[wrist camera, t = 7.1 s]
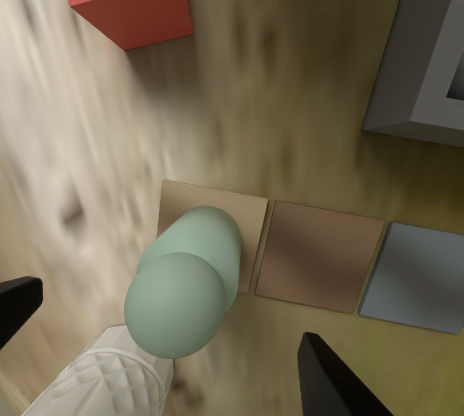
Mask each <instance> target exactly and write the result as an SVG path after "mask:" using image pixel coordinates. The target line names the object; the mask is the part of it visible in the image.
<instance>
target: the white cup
mask: <svg viewBox="0 0 464 416" xmlns="http://www.w3.org/2000/svg"><path fill="white" fill-rule="evenodd" d="M173 375H174V366H173V359H164V358H159V357H155V356H153V355H150V354H148V353H147V352H145V351H144V350H143V349H141V348H140V347H139V346H138V345H137V344H136V343H135V342H134V340H133V339H132V337H131V335H130V333H129V331H128V329H127V326H126V325H121V326H114V327H109V328H107V329H106V330H104V331H103V332H102V333H100V334H99V335H97V336H96V337H95V338H94V339H93V340H92V341H91V342H90V343H89V344H88V345H87V346H86V348H85V349H84V350H83V351H82V352H81V353H80V354H79V355H78V357H77V358H76V359H75V360H74V361H72V362H71V363H70V364H69V365H68V366H67V367H66V368H65V369H64V370H63V371H62V372H61V373H60V374H59V375H58V376H57V377H56V378H55V379H54V381H53V382H52V383H51V384H50V385H49V386H48V387H47V388H46V389H45V390H44V391H43V392H42V393H41V394H40V395H39V396H38V397H37V398H36V399H35V400H34V401H33V402H32V403H31V404H30V406H29V407H28V408H27V409H26V410H25V411H24V412H23V413H22V414H21V415H20V416H163V411H164V405H165V402H166V399H167V396H168V392H169V389H170V385H171V382H172V379H173Z"/></svg>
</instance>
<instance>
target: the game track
mask: <svg viewBox="0 0 464 416" xmlns="http://www.w3.org/2000/svg"><path fill="white" fill-rule="evenodd" d="M267 202H268V199H267V198H262V197H256V196H251V195H246V194H240V193H235V192H229V191H224V190H219V189H213V188H208V187H202V186H197V185H191V184H186V183H181V182H175V181H170V180H163V181H162V191H161V201H160V211H159V221H158V231H157V239H158V238H159V237H160V236H161V235H162V234H163V233H164V232H165V231H166V230H167V229H168V228H169V227H170V226H171V225H172V224H173V223H174V222H176V221H177V220H178V219H179V218H180V217H181V216H182V215H183V214H184V213H185V212H187V211H188V210H190V209H192V208H195V207H198V206H213V207H217V208H219V209H222V210H224V211H225V212H227V213H228V214H229V215H231V216H232V217H233V219H234V220H235V221H236V223H237V224H238V226H239V228H240V232H241V237H242V243H241V255H240V267H239V280H238V290H237V291H240V292H245V293H248V290H249V285H250V280H251V276H252V271H253V267H254V262H255V257H256V253H257V248H258V244H259V239H260V235H261V230H262V225H263V221H264V216H265V212H266V207H267ZM384 222H385V221H384V220H381V219H376V218H370V217H365V216H359V215H354V214H348V213H343V212H338V211H332V210H327V209H321V208H316V207H311V206H305V205H300V204H294V203H289V202H284V201H278V200H276V201H275V206H274V210H273V215H272V219H271V223H270V228H269V232H268V237H267V241H266V245H265V250H264V254H263V259H262V263H261V268H260V272H259V276H258V281H257V285H256V290H255V295H260V296H265V297H270V298H275V299H280V300H285V301H290V302H296V303H301V304H306V305H311V306H316V307H321V308H326V309H331V310H336V311H341V312H346V313H351V314H352V312H353V309H354V307H355V304H356V301H357V298H358V295H359V293H360V290H361V287H362V284H363V281H364V279H365V276H366V273H367V270H368V267H369V264H370V262H371V259H372V256H373V253H374V250H375V248H376V245H377V242H378V239H379V236H380V234H381V231H382V228H383V225H384ZM358 314H359V315H362V316H367V317H372V318H377V319H382V320H387V321H392V322H397V323H402V324H407V325H412V326H418V327H423V328H428V329H433V330H438V331H443V332H448V333H453V334H458V335H459V334H460V332H461V330H462V328H463V326H464V235H462V234H457V233H451V232H446V231H441V230H435V229H430V228H424V227H419V226H413V225H408V224H403V223H397V222H392V221H390V224H389V226H388V229H387V232H386V235H385V237H384V240H383V243H382V246H381V248H380V251H379V254H378V257H377V260H376V262H375V265H374V268H373V271H372V273H371V276H370V279H369V282H368V284H367V287H366V290H365V293H364V295H363V298H362V301H361V304H360V306H359V309H358Z"/></svg>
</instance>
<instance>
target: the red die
mask: <svg viewBox="0 0 464 416" xmlns="http://www.w3.org/2000/svg"><path fill="white" fill-rule="evenodd" d="M68 2H69V6H70V7H71V8H72V9H73V10H75V11H76V12H77V13H78V14H80V15H81V16H82V17H83V18H85V19H86V20H87V21H88V22H90V23H91V24H92V25H93V26H94V27H96V28H97V29H98V30H99V31H101V32H102V33H103V34H104V35H106V36H107V37H108V38H109V39H110V40H112V41H113V42H114V43H115V44H117V45H118V46H119V47H120V48H122V49H123V50H124V51H125V50H129V49H133V48H137V47H141V46H146V45H150V44H154V43H158V42H162V41H166V40H170V39H174V38H178V37H182V36H186V35H190V34H194V30H193V25H192V20H191V14H190V9H189V4H188V0H68Z"/></svg>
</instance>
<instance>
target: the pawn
mask: <svg viewBox="0 0 464 416" xmlns="http://www.w3.org/2000/svg"><path fill="white" fill-rule="evenodd" d="M241 243H242V237H241V232H240V228H239V226H238V224H237V223H236V221H235V220H234V219H233V217H232V216H231V215H229V214H228V213H227V212H225V211H224V210H222V209H219V208H217V207H213V206H198V207H195V208H192V209H190V210H188V211H187V212H185V213H184V214H183V215H182V216H181V217H180V218H179V219H178V220H177V221H176V222H174V223H173V224H172V225H171V226H170V227H169V228H168V229H167V230H166V231H165V232H164V233H163V234H162V235H161V236H160V237H159V238H158V239H157V240H155V241H154V242H153V243H152V244H151V245H150V246H149V247H148V248H147V249H146V250H145V252H144V253H143V255H142V257H141V259H140V261H139V264H138V267H137V275H136V276H135V278H134V279H133V281H132V283H131V285H130V287H129V289H128V292H127V295H126V299H125V307H124V315H125V321H126V326H127V329H128V331H129V333H130V335H131V337H132V339H133V340H134V342H135V343H136V344H137V345H138V346H139V347H140V348H141V349H143V350H144V351H145V352H147V353H148V354H150V355H153V356H155V357H159V358H164V359H178V358H182V357H186V356H189V355H191V354H193V353H195V352H197V351H198V350H200V349H202V348H203V347H204V346H205V345H206V344H207V343H208V342H209V341H210V340H211V339H212V338H213V337H214V335H215V334H216V332H217V331H218V329H219V327H220V324H221V322H222V320H223V316H224V314H225V313H226V312H227V311H228V310H229V309H230V307H231V306H232V304H233V303H234V300H235V298H236V295H237V290H238V280H239V267H240V255H241Z"/></svg>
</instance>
